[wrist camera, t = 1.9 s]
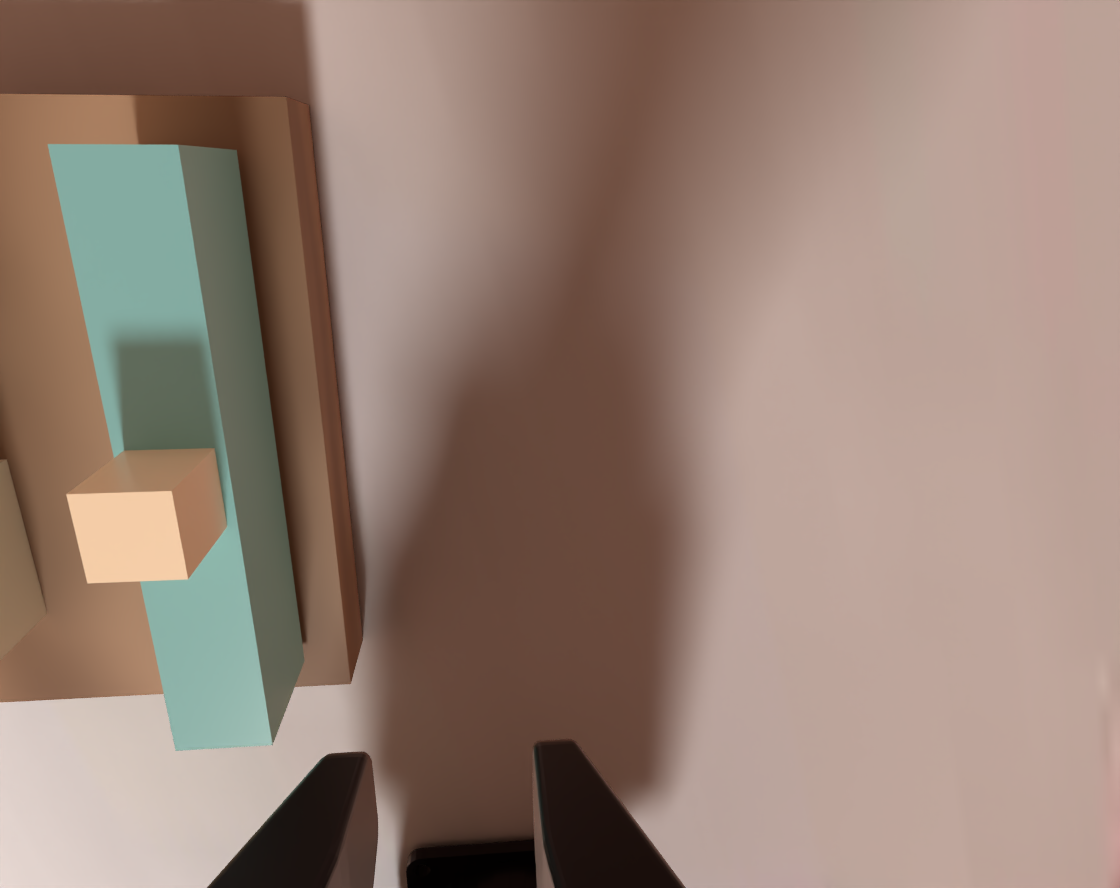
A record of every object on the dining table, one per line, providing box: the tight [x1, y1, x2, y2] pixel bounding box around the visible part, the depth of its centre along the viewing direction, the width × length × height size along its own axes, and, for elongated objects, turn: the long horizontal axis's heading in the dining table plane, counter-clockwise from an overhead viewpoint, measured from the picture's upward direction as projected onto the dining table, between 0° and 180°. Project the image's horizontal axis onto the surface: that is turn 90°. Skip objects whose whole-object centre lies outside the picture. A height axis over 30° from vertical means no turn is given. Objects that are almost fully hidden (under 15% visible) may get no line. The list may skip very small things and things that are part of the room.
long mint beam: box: [48, 144, 305, 751], centre depth 15 cm, size 2×12×5 cm, turn 0°
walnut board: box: [0, 94, 363, 702], centre depth 18 cm, size 14×14×2 cm
